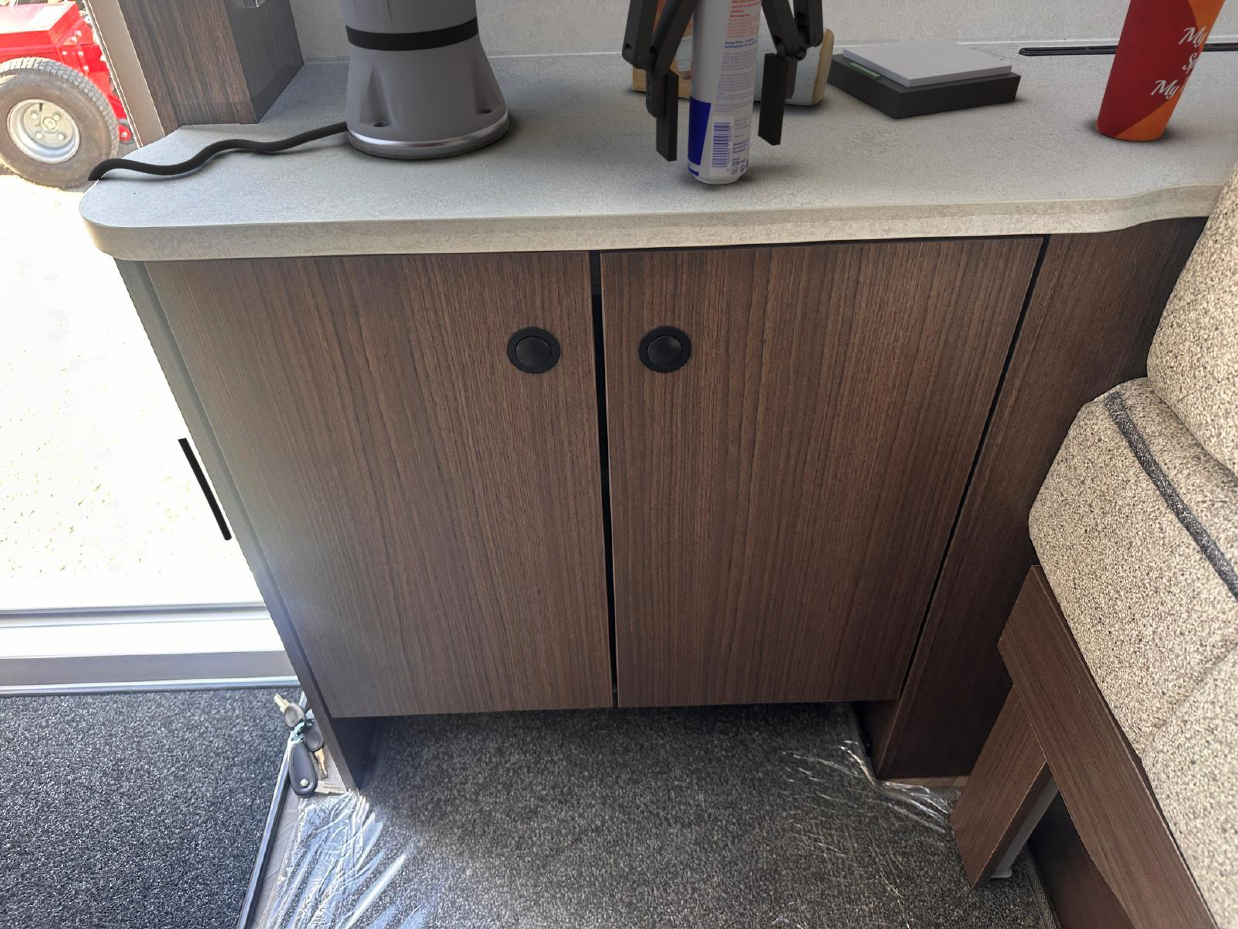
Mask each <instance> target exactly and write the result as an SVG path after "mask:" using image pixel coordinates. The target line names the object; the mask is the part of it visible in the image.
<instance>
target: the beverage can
mask: <svg viewBox="0 0 1238 929" xmlns="http://www.w3.org/2000/svg"><path fill="white" fill-rule="evenodd" d="M761 1H762V0H698V2H697V4H696V6H695V9H694V11H693V15H692V43H691V71H690V99H688V100H689V102H688V103H689V104H688V133H687V157H686V158H687V159H686V160H687V162H686V163H687V165H686V166H687V170H688V171H689V172H690V173H691V175H693V176H694V178H695V179H696V180H697V181H698V182H701V183H704V184H707V185H726V184H731V183H734V182H737V181H738V180H739V178H740V177H741V176H743V175H744V174H745V173H746V171H747V170H748V165H749V155H750V145H751V134H752V120H753V109H754V101H753V97H754V85H755V73H756V61H757V49H758V37H759V25H760V16H761V12H762V6H761Z"/></svg>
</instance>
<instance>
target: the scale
mask: <svg viewBox="0 0 1238 929" xmlns="http://www.w3.org/2000/svg"><path fill="white" fill-rule="evenodd" d="M1012 69H1013V64H1011V63H1009V62H1006V61H1003V60H1001V59H999V58H996V57H994V56H991V55H989V54H986V53H983V52H980V51H978V50H975V49H972V48H970V47H967V46H965V45H962V44H960V43H957V42H954V41H952V40H949V39H947V38H944V37H942V36H931V37H924V38H917V39H908V40H899V41H893V42H883V43H877V44H875V43H874V44H868V45H860V46H859V45H858V46H853V47H851V46H850V47H844V48H843V53H842V52H841V53H835V54H834V53H833V54H832V61H831V66H830V71H829V75H828V80H827V83H829V84H831V85H833V86H835V87H837V88H838V89H840V90H842V91H844V92H846V93H847V94H849V95H850V96H853V97H855V98H857V99H859V100H860V101H863V102H864V103H866V104H868V105H869V106H872V107H873V108H875V109H877V110H879V111H881V112H883V113H884V114H887V115H888V116H890V117H892V118H894V119H901V118H909V117H916V116H921V115H928V114H934V113H941V112H948V111H954V110H960V109H968V108H975V107H981V106H982V107H983V106H986V105H994V104H1001V103H1008V102H1014V101H1015V100H1016V96H1017V93H1018V90H1019V86H1020V82H1021V79H1022V75H1021V74H1018V73H1016V72H1013V71H1012Z"/></svg>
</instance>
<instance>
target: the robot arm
mask: <svg viewBox="0 0 1238 929" xmlns="http://www.w3.org/2000/svg"><path fill="white" fill-rule="evenodd" d="M476 1H477V0H339V3H340V8H341V13H342V17H343V22H344V26H345V31H346V36H347V41H348V47H349V63H348V76H347V87H346V97H345V98H346V100H345V111H344V119H345V121H344V120H343V121H341V122H337V123H333V124H329V125H325V126H322V127H318V128H315V129H310V130H308V131H305V132H301V133H298V134H296V135H294V136H290V137H287V138H284V139H280V140H275V141H268V142H267V141H256V140H251V139H243V138H229V139H223V140H218V141H216V142H213V143H210V144H209V145H206V146H204V147H203V148H202V149H201V150H200V151H199V152H197V154H195V155H194V156H193V157H191V158H190V159H188V160H185V161H182V162H180V163H175V164H163V165H161V164H153V163H146V162H142V161H137V160H133V159H127V158H118V157H117V158H116V157H115V158H107V159H105V160H103V161H101V162H99V163H98V164H97V165H96V166H95V167H94V168H93V169H92V170H91V171H90V173H89V175H88V177H87V181H88V182H96V181H99V180H101V179H102V178H103V177H104V175H106V174H107V173H108V172H110V171H112V170H130V171H134V172H137V173H142V174H148V175H152V176H153V175H154V176H163V177H164V176H165V177H166V176H176V175H182V174H185V173H189V172H191V171H194V170H196V169H197V168H199V167H201V166H202V165H204V164H205V163H206V162H207V161H208V160H209V159H210V158H211V157H213V156H214V155H216V154H218V153H220V152H224V151H227V150H234V149H238V150H239V149H241V150H247V151H253V152H260V153H274V152H275V153H276V152H282V151H286V150H289V149H293V148H295V147H298V146H301V145H303V144H307V143H309V142H313V141H317V140H320V139H323V138H328V137H330V136H334V135H338V134H342V133H345V132H347V136H348V141H349V142H350V144H351V145H352V146H353V147H354V148H356V149H357V150H359V151H361V152H363V153H366V154H369V155H373V156H378V157H383V158H390V159H402V160H403V159H405V160H410V159H411V160H415V159H417V160H419V159H433V158H444V157H449V156H454V155H460V154H464V153H468V152H471V151H476V150H478V149H481V148H483V147H486V146H488V145H490V144H492V143H494V142H496V141H498V140H499V139H501V137H503V136H504V135H505V134H506V133H507V132H508V129H509V127H510V126H509V125H510V123H509V114H508V106H507V103H506V99H505V97H504V95H503V92H502V90H501V87H500V85H499V83H498V81H497V78H496V75H495V73H494V71H493V68H492V66H491V64H490V61H489V59H488V57H487V54H486V51H485V49H484V46H483V44H482V41H481V37H480V36H481V35H480V29H479V21H478V11H477V2H476ZM658 2H659V0H629V6H628V11H627V17H626V24H625V30H624V36H623V42H622V49H621V56H622V59H623V60H624V61H625V62H627V63H628V64H630V65H631V67H632V66H633V67H635V68H636V69H643V70H645V72H646V91H645V108H646V111H647V113H648V114H649V115H650V116H652V118H654V119H655V151H656V152H657V153H658V154H659V155H660V156H661V157H662V158H663V159H664V160H665V161H666V162H668V163H672V162H677V161H678V132H679V131H678V130H679V129H678V128H679V127H678V126H679V97H678V95H679V75H678V74H677V73H675V72H674V71H672V70H671V69H670V67H671V64H672V62H673V59H674V57H675V55H676V52H677V50H678V47H679V45H680V43H681V40H682V38H683V35H684V33H685V31H686V28H687V26H688V23H689V21H690V19H691V16H692V14H693V11H694V9H695V6H696V4H697V2H698V0H667V1H666V3H665V6H664V8H663V11H662V13H661V16H660V18H659V21H658V23H657V26H656V28H655V31H654V33H653V29H654V24H655V18H656V13H657V7H658ZM792 8H793V10H792ZM792 8H791V4H790V1H789V0H762V1H761V10H762V12H763V16H765V19H766V22H767V25H768V28H769V31H770V34H771V37H772V41H773V44H774V47H775V49H776V50H777V53H776V54H775V53H766V54H765V57H764V69H763V80H762V92H761V101H760V103H759V104H760V105H759V114H758V117H759V118H758V126H757V137H759V138H760V139H762V140H763V141H765V142H766V143H767V144H769V145H770V146H772V147H774V146H780V145H782V144H781V143H782V132H783V124H784V114H785V105H786V103H785V100H786V99H792V96H793V94H794V90H795V81H796V80H795V79H796V72H797V63H798V61H802V60H803V59H804V58H805V57H806V55H807V49H809V48H810V47H818V46H820V45H821V43H822V42H823V38H824V33H823V27H824V17H823V16H824V15H823V13H824V12H823V0H792ZM652 35H653V36H652ZM176 440H177V442H178V444H179V446H180V447H181V450H182V452H183V454H184V456H185V458H186V460H187V462H188V465H189V466H190V469H191V470H192V472H193V474H194V476H195V478H196V480H197V482H198V484H199V486H200V489H201V491H202V493H203V495H204V497H205V500H206V502H207V504H208V506H209V507H210V508H209V509H210V511H211V513H212V514H213V517H214V519H215V521H216V523H217V526H218V528H219V530H220V532H221V534H222V537H223V539H224V541H227V542H228V541H231V540H232V538H233V536H232V533H231V531H230V529H229V527H228V524H227V522H226V519H225V517H224V515H223V513H222V511H221V507H220V506H219V504H218V502H217V500H216V497H215V495H214V492H213V491H212V488H211V486H210V484H209V482H208V479H207V478H206V475H205V474H204V472H203V470H202V467H201V465H200V463H199V461H198V459H197V457H196V455H195V452H194V451H193V449H192V447H191V444H190V443H189V441H188V438H187V437H182V438H177V439H176Z"/></svg>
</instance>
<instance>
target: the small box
mask: <svg viewBox="0 0 1238 929" xmlns="http://www.w3.org/2000/svg"><path fill="white" fill-rule="evenodd" d="M666 1H667V0H659V2H658V7H657V13H656V18H655V24H654V29H653V33H654V31H655V28H656V26H657V23H658V21H659V18H660V16H661V13H662V11H663V8H664V6H665V3H666ZM692 15H693V14H692ZM652 36H653V35H652ZM691 43H692V16H691V19H690V21H689V23H688V26H687V28H686V31H685V33H684V35H683V38H682V40H681V43H680V45H679V47H678V50H677V52H676V55H675V57H674V59H673V62H672V64H671V67H670V69H671V70H672V71H674V72H675V73H677V74H678V75H679V95H678V98H683V99H687V100H689V99H690V71H691ZM631 67H632V68H631V69H632V70H631V72H632V77H631V78H632V80H631V81H632V82H631V87H632V89H631V90H632V91H639V92H640V91H641V92H646V72H645V70H643V69H636V68H635V67H633V66H632V65H631Z"/></svg>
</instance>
